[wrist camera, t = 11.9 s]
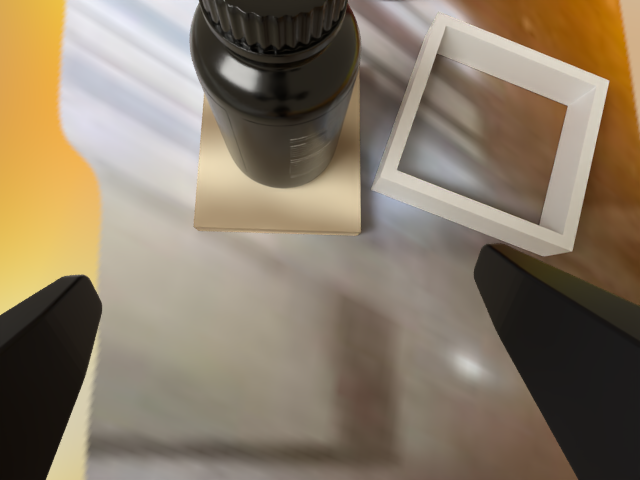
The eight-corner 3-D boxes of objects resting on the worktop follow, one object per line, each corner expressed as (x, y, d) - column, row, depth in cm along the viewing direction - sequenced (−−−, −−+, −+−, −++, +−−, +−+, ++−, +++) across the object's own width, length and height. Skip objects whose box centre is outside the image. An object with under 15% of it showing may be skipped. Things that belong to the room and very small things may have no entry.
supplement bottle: (333, 91, 23) (383, -136, 11) (338, 191, 21) (401, 56, 10) (226, 89, 22) (156, -157, 10) (225, 192, 21) (145, 48, 9)
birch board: (356, 235, 22) (360, 232, 21) (198, 230, 21) (193, 226, 20) (355, 70, 24) (359, 58, 23) (212, 59, 23) (207, 46, 22)
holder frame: (543, 256, 23) (572, 251, 21) (370, 189, 23) (380, 177, 21) (579, 100, 26) (609, 80, 23) (424, 38, 25) (438, 11, 23)
